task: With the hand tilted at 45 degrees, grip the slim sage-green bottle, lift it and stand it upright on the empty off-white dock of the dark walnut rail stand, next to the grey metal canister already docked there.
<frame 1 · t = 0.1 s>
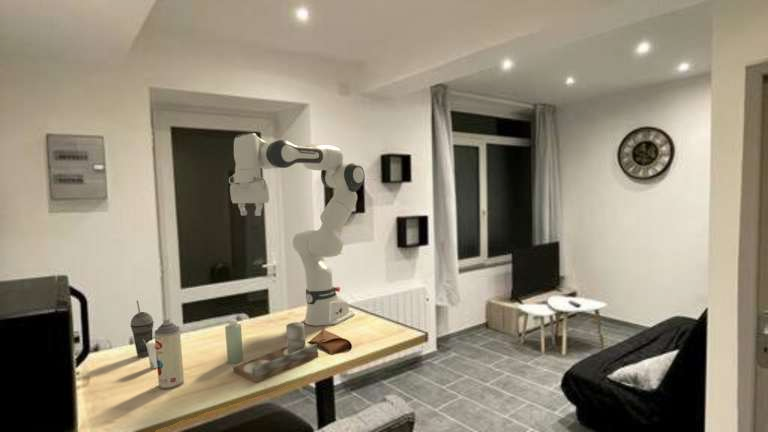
hand: (250, 215, 156), 48 cm above the table, tool pointing down, fingers open, 8 cm apart
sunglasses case: (328, 347, 154), on the table
slim bottle: (235, 360, 144), on the table
rail stand: (277, 363, 140), on the table
beverage cup: (144, 355, 152), on the table
milkshake: (154, 367, 141), on the table
aerosol can: (171, 384, 128), on the table
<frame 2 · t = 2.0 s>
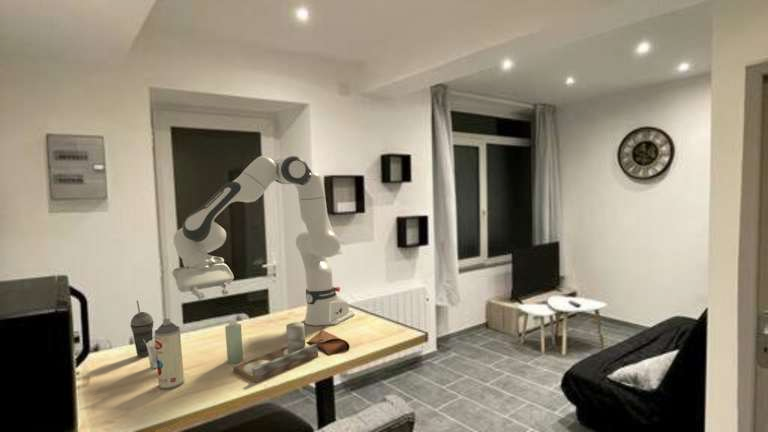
hand: (214, 296, 150), 21 cm above the table, tool tilted 45°, fingers open, 8 cm apart
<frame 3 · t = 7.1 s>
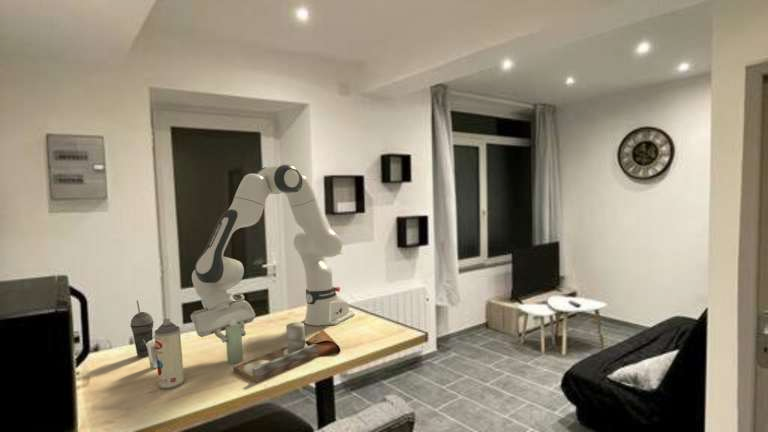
hand: (234, 338, 143), 8 cm above the table, tool tilted 45°, fingers closed on slim bottle, 5 cm apart
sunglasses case: (321, 348, 153), on the table
slim bottle: (235, 360, 144), on the table, touching gripper
everything else where it was.
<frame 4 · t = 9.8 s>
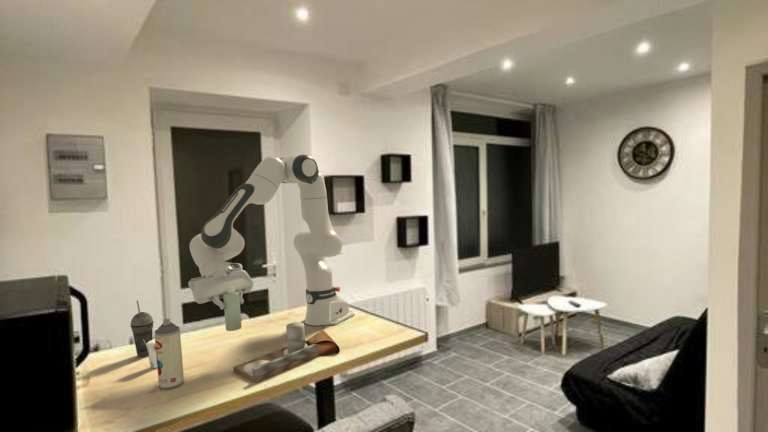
hand: (233, 305, 142), 19 cm above the table, tool tilted 45°, fingers closed on slim bottle, 5 cm apart
slim bottle: (233, 328, 143), point 11 cm above the table, touching gripper
everything else where it was.
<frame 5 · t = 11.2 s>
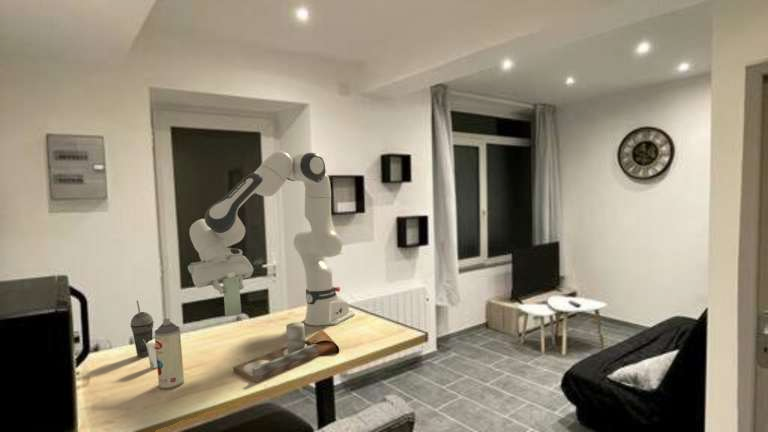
hand: (232, 290, 141), 24 cm above the table, tool tilted 45°, fingers closed on slim bottle, 5 cm apart
slim bottle: (233, 313, 142), point 16 cm above the table, touching gripper
everything else where it was.
when the fingers open (11 cm above the table, at t = 15.8 s): slim bottle drops 1 cm, resting on rail stand.
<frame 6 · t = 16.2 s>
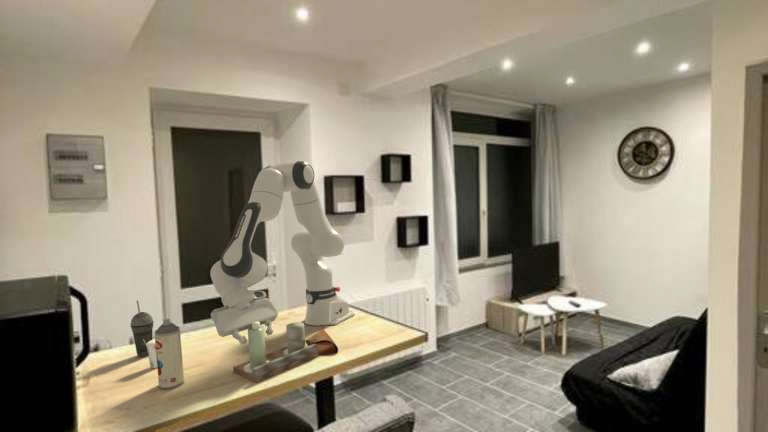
hand: (257, 338, 134), 11 cm above the table, tool tilted 45°, fingers open, 8 cm apart
slim bottle: (258, 366, 135), point 2 cm above the table, touching rail stand
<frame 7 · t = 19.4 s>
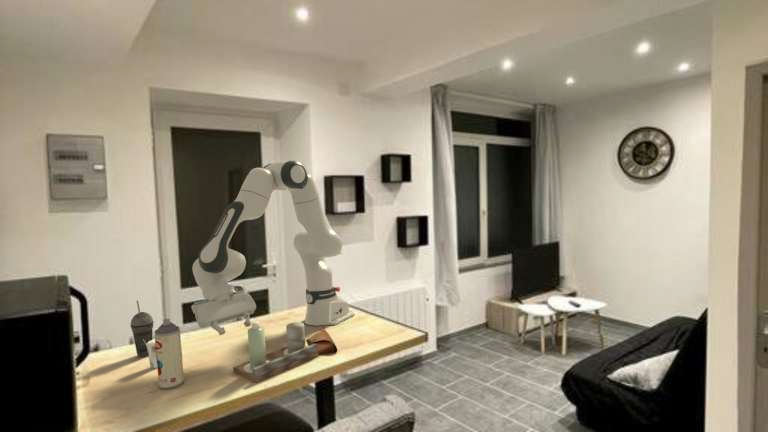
hand: (236, 329, 142), 11 cm above the table, tool tilted 45°, fingers open, 8 cm apart
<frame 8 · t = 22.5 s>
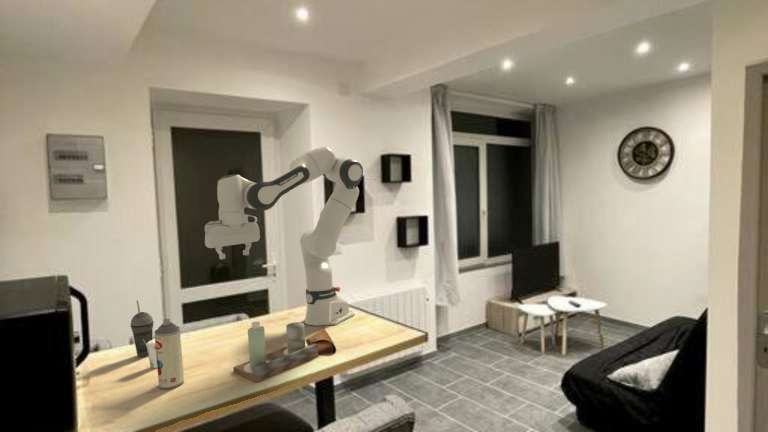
hand: (234, 256, 156), 33 cm above the table, tool pointing down, fingers open, 8 cm apart
at the end: slim bottle 0.0 cm from the target spot on the rail stand, point 1.7 cm above the rail stand's base; slim bottle tilted 0°; the gripper is holding nothing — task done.
